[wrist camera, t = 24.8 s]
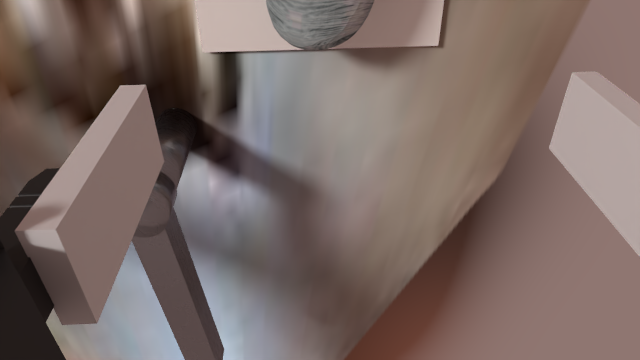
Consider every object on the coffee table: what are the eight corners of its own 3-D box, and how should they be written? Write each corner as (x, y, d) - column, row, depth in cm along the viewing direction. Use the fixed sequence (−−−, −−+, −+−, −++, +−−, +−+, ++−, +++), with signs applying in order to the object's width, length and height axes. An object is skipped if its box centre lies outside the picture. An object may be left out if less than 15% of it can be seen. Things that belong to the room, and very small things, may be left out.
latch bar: (115, 171, 39) (101, 197, 36) (168, 165, 39) (158, 191, 36) (191, 350, 53) (185, 379, 50) (230, 346, 53) (226, 375, 50)
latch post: (161, 142, 50) (133, 206, 42) (153, 108, 48) (121, 168, 39) (199, 141, 50) (179, 204, 42) (193, 107, 48) (170, 166, 39)
